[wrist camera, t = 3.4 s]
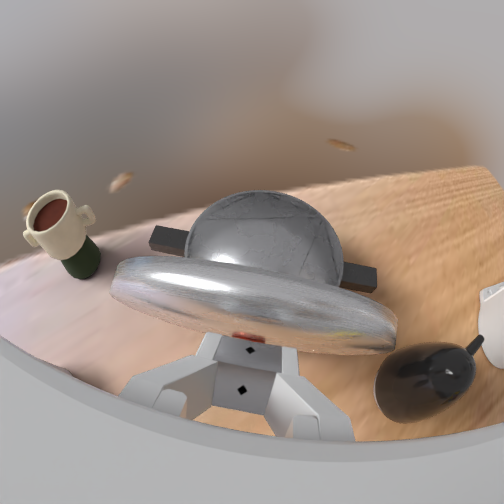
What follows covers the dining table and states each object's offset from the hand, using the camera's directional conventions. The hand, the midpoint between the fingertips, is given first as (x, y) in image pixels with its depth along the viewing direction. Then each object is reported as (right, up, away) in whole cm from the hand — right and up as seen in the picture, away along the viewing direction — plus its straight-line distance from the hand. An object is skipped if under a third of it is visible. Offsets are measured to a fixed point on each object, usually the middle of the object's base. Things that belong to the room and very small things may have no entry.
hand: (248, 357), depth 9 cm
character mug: (-26, +2, +30) cm, 40 cm away
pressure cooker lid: (0, 0, +8) cm, 8 cm away
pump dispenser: (+20, -15, +23) cm, 34 cm away
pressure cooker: (+1, -2, +30) cm, 30 cm away
